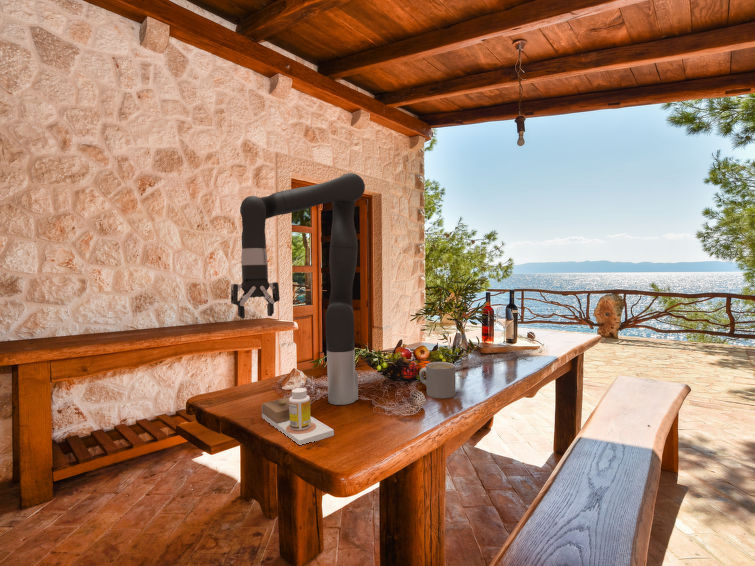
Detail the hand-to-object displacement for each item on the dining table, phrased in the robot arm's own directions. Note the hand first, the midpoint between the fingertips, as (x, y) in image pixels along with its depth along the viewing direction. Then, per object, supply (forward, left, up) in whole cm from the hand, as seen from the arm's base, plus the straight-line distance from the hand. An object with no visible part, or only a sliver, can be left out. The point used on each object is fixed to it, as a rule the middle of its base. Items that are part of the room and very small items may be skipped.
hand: (256, 317), depth 120 cm
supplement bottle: (-3, +21, -29) cm, 36 cm away
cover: (-3, +9, -28) cm, 30 cm away
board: (-4, +15, -30) cm, 34 cm away
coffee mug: (-56, +21, -30) cm, 67 cm away
